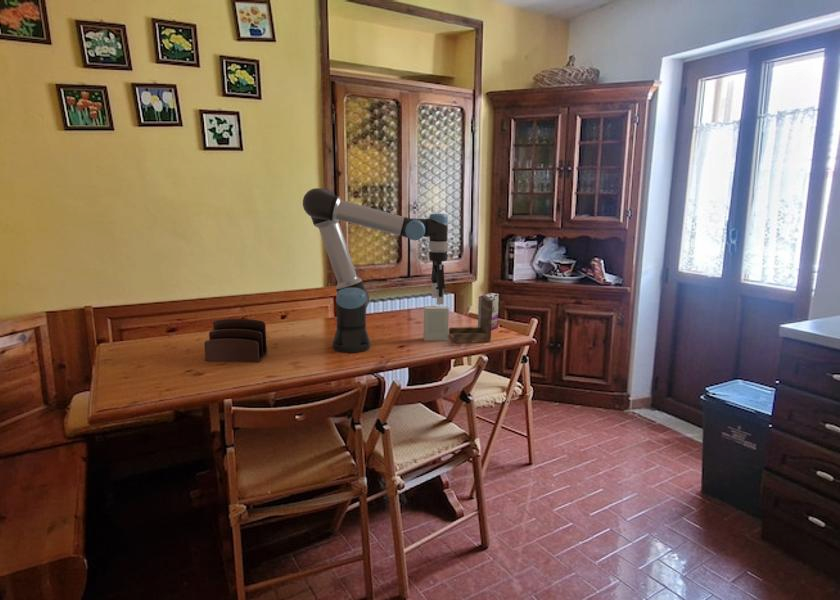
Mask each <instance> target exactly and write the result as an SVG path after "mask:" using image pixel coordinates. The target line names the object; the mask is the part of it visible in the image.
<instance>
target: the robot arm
mask: <svg viewBox="0 0 840 600" xmlns="http://www.w3.org/2000/svg"><path fill="white" fill-rule="evenodd" d="M302 208H303V210H304V212H305V213H306V214H307V215H308V216H309V217H310V218H311V221H312V223H313V226H314V227H316V228H317V229H318V230H319V233H320V236H321V238H322V241H323V244H324V248H325V250H326V254H327V256H328V258H329V262H330V264H331V269H332V271H333V273H334V276H335V278H336V282H337V283H336V284H337V285H336V286H335V290H336V297H335V302H336V331H335V333H334V336H333V339H332V349H333V350H334V351H337V352H339V353H348V354H349V353H351V354H352V353H360V352H365V351H367V350H369V349H371V340H370V337H369V334H368V331H367V330H368V329H367V323H366V322H367V308H368V306H369V303H370V295H369V292H368V290H367V289H366V288H365V285H364V282H363V279H362V278H360V277H359V276H358V275H357V272H356V270H355V266H354V263H353V260H352V256H351V255H350V252H349V249H348V245H347V242H346V238H345V236H344V234H343V230H342V227H341V225H340V221H342V222H347V223H349V224H352V225H353V224H354V225H356V226H357V225H358V226H361V227H364V228H368V229H372V230H377V231H380V232H385V233H387V234H388V233H389V234H391V235H396V236H399V237H403V238H407V239H409V240H411V241H419V240H421V239H422V238H427V237H428V250H429V251H428V260H429V261H431V262H432V266H431V267H432V268H431V269H432V270H431V276H430V277H431V278H430V280H431V299H436V305H437V306H438V305H441V306H442V305H444V295H445V294H444V292H445V291H444V289H445V288H446V286H445V285H446V284H445V275H444V274H445V271H444V269H445V268H444V267H445V266H444V264H443V262H446V261H448V246H449V242H448V231H449V229H448V227H449V225H448V223H449V222H448V215H447V214H446V213H430V214H429V217H428V218H410V217H406V216H403V215H402V216H401V215H398V214H395V213H391V212H387V211H383V210H381V209H380V210H379V209H376V208H372V207H368V206H365V205H360V204H357V203H354V202H350V201H346V200H343V199H341V197H340V196H338V195H335V194H334V192H332V191H331V190H330V189H328V188H323V187H318V188H316V187H315V188H312V189H310V190H308V191H306V193H305V194H304V196H303V198H302Z"/></svg>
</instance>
